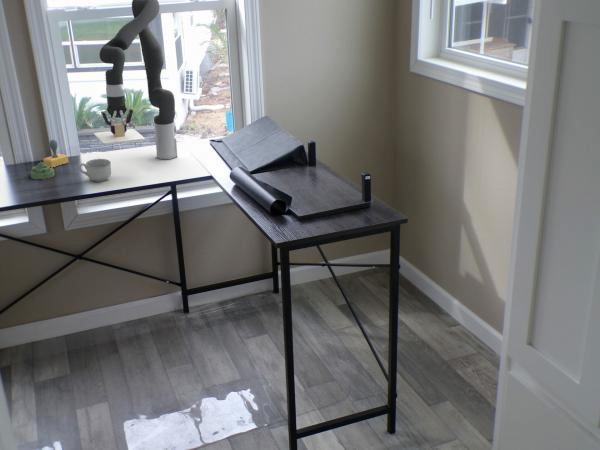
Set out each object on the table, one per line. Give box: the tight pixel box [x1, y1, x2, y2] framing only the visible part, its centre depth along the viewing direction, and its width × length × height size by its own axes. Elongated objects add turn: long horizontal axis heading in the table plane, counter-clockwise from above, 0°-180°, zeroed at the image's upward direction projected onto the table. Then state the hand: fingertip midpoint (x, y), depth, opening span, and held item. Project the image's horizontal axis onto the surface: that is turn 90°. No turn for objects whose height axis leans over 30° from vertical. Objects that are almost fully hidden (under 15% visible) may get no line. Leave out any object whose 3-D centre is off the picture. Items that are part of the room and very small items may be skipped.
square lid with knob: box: [93, 122, 146, 146], centre depth 295 cm, size 18×18×6 cm
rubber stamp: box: [42, 139, 69, 169], centre depth 315 cm, size 10×6×12 cm, turn 150°
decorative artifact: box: [30, 160, 56, 180], centre depth 300 cm, size 10×7×10 cm
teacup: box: [77, 158, 112, 183], centre depth 296 cm, size 14×11×8 cm
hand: (118, 133), depth 295 cm, fingers closed on square lid with knob, 4 cm apart
